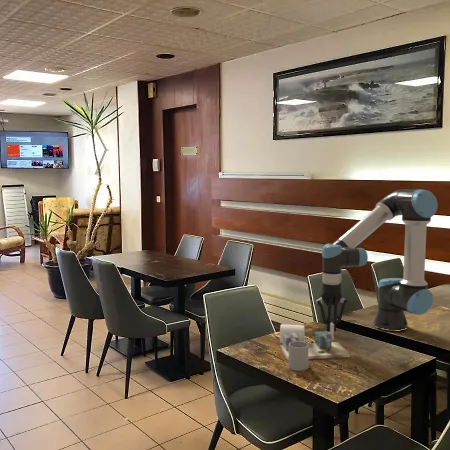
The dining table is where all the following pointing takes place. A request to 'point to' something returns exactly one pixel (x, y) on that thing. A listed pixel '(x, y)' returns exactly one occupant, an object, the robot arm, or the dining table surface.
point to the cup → (298, 356)
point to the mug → (293, 331)
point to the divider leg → (323, 339)
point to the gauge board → (314, 348)
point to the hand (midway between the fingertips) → (330, 339)
